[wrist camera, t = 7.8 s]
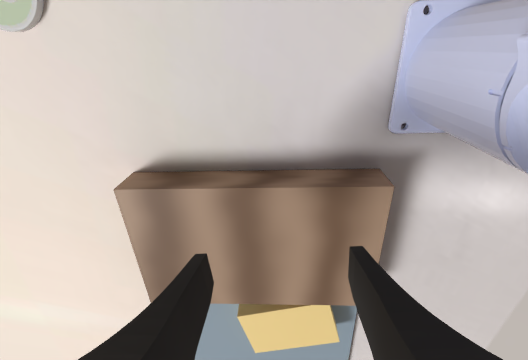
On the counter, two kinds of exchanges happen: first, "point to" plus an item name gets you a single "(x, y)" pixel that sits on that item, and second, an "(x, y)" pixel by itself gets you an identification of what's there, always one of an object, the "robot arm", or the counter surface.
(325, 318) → the yellow flat block
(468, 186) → the counter surface
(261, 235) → the brown wooden board
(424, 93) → the robot arm
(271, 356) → the mat
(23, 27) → the pale green spoon
